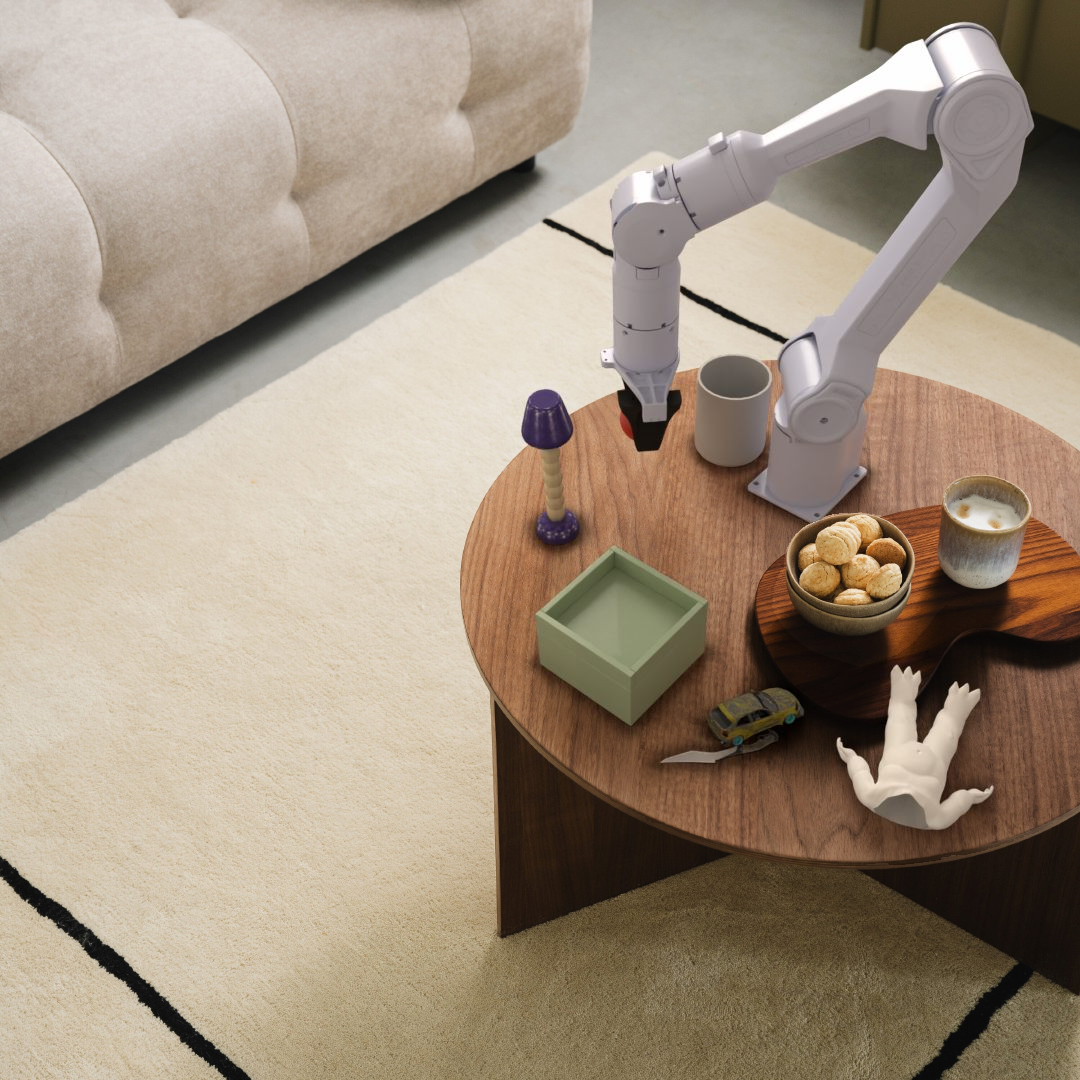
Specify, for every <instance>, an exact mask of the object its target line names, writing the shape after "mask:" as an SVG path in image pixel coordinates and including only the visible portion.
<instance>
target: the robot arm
mask: <svg viewBox="0 0 1080 1080" xmlns="http://www.w3.org/2000/svg"><path fill="white" fill-rule="evenodd" d="M1031 112H1032V111H1031V110H1030V106H1029V102H1028V98H1027V95H1026V93H1025V91H1024V89H1023V87H1022V86H1021V84H1020V82H1018V81H1017V80H1016V79H1015V77H1014V75H1013V73H1012V72H1011V70H1010V68H1009V66H1008V65H1007V63H1006V61H1005V59H1004V57H1003V55H1002V53H1001V51H1000V48H999V45H998V42H997V40H996V38H995V36H994V35H993V34H992V32H990V31H989V30H988V29H987V28H985V27H984V26H983V25H980V24H978V23H974V22H967V21H962V22H955V23H950V24H948V25H945V26H942V27H941V28H939V29H938V30H936V31H935V32H933V33H932V34H931V35H930V36H929V37H928V38H926V39H925V40H924V39H923V38H921V39H918V40H916V41H912V42H909V43H907V44H905V45H904V46H902V47H901V48H900V49H899V50H898V51H897V52H896V53H895V54H893V55H892V56H891V57H890V58H889V59H888V60H887V61H886V62H884V63H883V64H882V65H881V66H879V67H878V68H877V69H875V70H874V71H872V72H870V73H869V74H867V75H866V76H864V77H861V78H860V79H858V80H857V81H855V82H853V83H851V84H850V85H848V86H845V87H844V88H843V89H841V90H839V91H838V92H836V93H834V94H832V95H831V96H829V97H827V98H825V99H824V100H821V101H820V102H818V103H816V104H815V105H813V106H811V107H809V108H808V109H806V110H804V111H803V112H801V113H799V114H797V115H795V116H794V117H792V118H791V119H789V120H787V121H785V122H783V123H782V124H780V125H778V126H777V127H774V128H773V129H772V130H770V131H768V132H766V133H763V134H758V133H755V132H751V131H747V130H743V129H742V130H741V129H738V130H736V131H734V132H732V133H730V134H728V135H727V136H726V135H725V133H724V132H723V131H720V132H718V133H716V134H713V135H712V136H710V137H708V139H707V144H708V145H707V146H704V147H703V148H700V149H699V150H697V151H694V152H692V153H691V154H689V155H687V156H685V157H683V158H681V159H679V160H677V161H675V162H673V163H671V164H669V165H668V166H665V164H660V165H658V166H657V167H655V168H653V170H650V171H649V170H648V171H647V170H641V171H636V172H634V173H631V174H629V175H628V176H626V177H625V178H623V179H622V180H621V181H620V182H619V183H618V184H617V188H615V189H614V191H613V193H612V196H611V198H610V199H609V207H610V211H611V239H612V243H613V248H612V250H613V252H612V253H613V257H612V258H613V262H612V267H611V268H612V269H611V270H612V271H611V272H612V273H611V274H612V275H611V276H612V277H611V278H612V336H613V337H612V338H613V342H612V343H613V345H612V346H611V347H610V348H603V349H601V350H600V354H599V355H600V357H599V358H600V364H601V368H604V369H613V370H615V371H616V372H617V374H618V375H619V376H620V378H621V381H622V383H623V387H624V389H617V390H616V396H617V403H618V407H619V409H620V412H621V411H622V413H623V414H624V415H625V417H626V418H627V420H628V421H629V423H630V426H631V430H632V434H633V439H634V440H633V444H634V446H635V450H636V452H638V453H643V452H644V453H645V452H656V451H657V452H658V451H659V450H660V448H661V446H662V443H663V441H664V437H665V434H666V431H667V429H668V426H669V423H670V422H671V420H672V418H673V417H674V415H675V414H676V413H677V412H678V411H679V410H680V409H681V407H682V403H683V396H682V391H681V389H671V386H672V384H673V381H674V379H675V375H676V373H677V370H678V368H679V364H680V362H681V351H680V348H679V333H680V332H679V329H680V301H681V300H680V299H681V276H682V275H681V273H682V265H681V261H680V260H679V256H680V255H681V253H682V252H683V251H684V249H685V246H686V244H687V243H688V242H689V241H690V240H692V239H693V238H696V235H697V234H699V233H701V232H703V231H705V230H707V229H709V228H711V227H714V226H716V225H718V224H720V223H722V222H725V221H726V220H728V219H731V218H733V217H735V216H737V215H739V214H741V213H743V212H745V211H748V210H749V209H751V208H753V207H755V206H757V205H760V204H762V203H764V202H766V201H768V200H769V199H770V198H771V196H772V193H773V192H774V189H775V187H776V185H777V184H778V181H779V180H780V179H781V177H784V176H786V175H789V174H791V173H793V172H796V171H798V170H801V169H803V168H805V167H808V166H810V165H813V164H815V163H818V162H820V161H823V160H825V159H828V158H830V157H832V156H835V155H838V154H840V153H843V152H845V151H848V150H851V149H852V148H855V147H857V146H859V145H861V144H864V143H867V142H869V141H872V140H874V139H876V138H880V137H883V138H887V139H889V140H892V141H895V142H898V143H900V144H903V145H906V146H909V147H912V148H914V149H917V150H919V151H926V150H927V149H928V145H927V144H928V142H927V141H928V135H934V138H935V139H936V141H937V144H938V145H939V150H940V155H941V159H942V167H941V169H940V170H939V171H938V172H937V174H936V175H935V177H934V178H933V179H932V181H931V182H930V183H929V185H928V186H927V188H926V189H924V191H923V192H922V194H921V195H920V197H919V198H918V199H917V200H916V202H915V203H914V205H913V206H912V207H911V208H910V210H909V211H908V213H907V214H906V215H905V217H904V218H903V220H902V221H901V222H900V223H899V225H898V226H897V227H896V229H895V230H894V232H893V233H892V234H891V235H890V237H889V238H888V240H887V241H886V242H885V243H884V245H883V246H882V247H881V249H880V250H879V252H878V253H877V255H876V256H875V257H874V258H873V260H872V261H871V262H870V264H869V265H868V267H867V268H866V269H865V271H864V272H863V273H862V274H861V276H860V277H859V279H857V281H856V283H855V284H854V285H853V287H852V288H851V289H850V291H848V293H847V294H846V295H845V297H844V299H843V300H842V301H841V303H840V304H839V305H838V307H837V308H836V309H835V311H834V312H833V314H826V315H825V314H823V315H821V314H820V315H817V316H815V317H814V319H812V321H811V322H810V324H809V325H808V326H807V327H806V328H805V329H803V330H802V331H801V332H799V333H797V334H795V335H794V336H792V337H791V338H789V339H788V340H787V341H785V343H783V345H782V346H781V348H780V349H779V352H778V354H777V360H776V361H777V362H776V363H777V369H778V372H779V375H780V376H781V377H780V379H781V384H782V389H783V391H782V393H781V395H780V396H779V398H778V400H777V401H776V403H775V405H774V409H773V419H772V428H771V436H770V437H771V438H770V444H769V453H768V462H767V467H766V468H764V470H763V471H762V472H760V473H759V474H758V475H757V476H756V477H755V478H754V479H753V480H752V481H750V482H749V483H748V485H747V490H748V491H749V492H750V493H752V494H754V495H755V496H758V497H759V498H762V499H764V500H766V501H768V502H769V503H771V504H772V505H775V506H777V507H779V508H780V509H783V510H785V511H786V512H789V513H790V514H793V515H795V516H796V517H798V518H800V519H802V520H804V521H806V522H808V523H810V524H812V523H813V522H816V521H818V520H820V521H822V520H823V518H825V517H826V516H827V515H828V514H829V513H830V512H831V511H832V510H833V509H834V507H835V506H836V505H838V503H840V501H842V500H843V499H844V498H845V497H846V495H848V493H850V491H852V490H853V488H855V486H857V484H859V483H860V481H861V480H863V479H864V477H866V475H867V472H868V470H867V469H866V468H865V467H864V466H861V465H860V462H861V458H862V453H863V447H864V442H865V436H866V432H867V427H868V417H867V412H866V409H865V407H864V406H863V405H864V404H865V402H867V399H868V398H869V397H870V396H871V395H872V393H873V389H874V384H875V380H876V374H877V369H878V365H879V361H880V356H881V355H882V354H883V352H884V351H885V350H886V348H887V347H888V346H889V345H890V344H891V342H892V341H893V340H894V338H895V337H896V336H897V335H898V333H899V332H900V331H901V330H902V329H903V328H904V326H905V325H906V324H907V322H908V321H909V320H910V319H911V317H913V315H914V314H915V313H916V311H917V310H918V309H919V308H920V306H921V305H922V304H923V303H924V301H925V300H926V299H927V298H928V297H929V296H930V294H931V293H932V291H933V290H934V289H935V288H936V286H937V285H938V284H939V283H940V282H941V280H942V279H943V278H944V277H945V275H946V274H947V272H949V271H950V269H951V268H952V267H953V266H954V265H955V263H956V262H957V261H958V259H959V258H960V257H961V255H962V254H963V253H964V252H965V250H967V248H968V247H969V246H970V245H971V243H972V242H973V241H974V239H975V238H976V237H977V236H978V234H979V233H980V232H981V231H982V229H984V227H985V226H986V225H987V223H988V222H989V221H990V220H991V218H992V217H993V216H994V215H995V213H996V212H997V211H998V210H999V208H1000V207H1001V206H1002V205H1003V204H1004V203H1005V201H1006V200H1007V199H1008V197H1009V196H1010V195H1011V193H1012V192H1013V190H1014V189H1015V187H1016V185H1017V183H1018V180H1019V174H1020V169H1021V163H1022V159H1023V154H1024V147H1025V143H1026V138H1027V137H1028V136H1029V135H1030V133H1031V132H1032V131H1033V130H1034V128H1035V123H1034V120H1033V115H1032V113H1031ZM666 428H667V429H666Z"/></svg>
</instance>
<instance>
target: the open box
mask: <svg viewBox="0 0 1080 1080" xmlns="http://www.w3.org/2000/svg"><path fill="white" fill-rule="evenodd" d="M708 609H709V600H708V599H705V598H704V597H702V596H701V595H700V594H698V593H696V592H694V591H692V590H691V589H689V588H688V587H686V586H684V585H683V584H680V583H679V582H678V581H675V580H674V579H673V578H671V577H669V576H667V575H665V574H664V573H662V572H660V571H658V570H657V569H655V568H654V567H652V566H651V565H648V564H646V563H645V562H643V561H641V560H640V559H639V558H637V557H635V556H633V555H631V554H630V553H628V552H626V551H625V550H623V549H622V548H620V547H618V546H617V545H615V544H613V545H612V546H610V547H609V548H608V549H607V550H606V551H605V552H604V553H603V554H601V555H600V556H599V557H598V558H597V559H596V560H594V562H592V563H591V564H590V565H589V566H588V567H586V569H584V570H583V571H582V572H581V573H580V574H579V575H578V576H576V577H575V578H574V579H573V580H572V581H571V582H570V583H569V584H567V585H566V586H565V587H564V588H563V589H562V590H560V592H558V593H557V594H556V595H555V596H554V597H553V598H551V600H549V601H548V602H547V603H546V604H545V605H544V606H543V607H542V608H540V609H539V610H538V611H537V612H536V613H535V614H534V615H535V625H536V626H535V627H536V633H537V635H536V636H537V646H538V656H539V664H540V665H541V666H542V667H544V668H546V669H547V670H548V671H550V672H552V673H553V674H554V675H556V676H557V677H558V678H560V679H562V680H563V681H564V682H566V683H567V684H569V685H570V686H572V687H573V688H574V689H576V690H577V691H579V692H580V693H581V694H583V695H585V696H586V697H587V698H589V699H590V700H592V701H593V702H595V703H596V704H597V705H599V706H601V707H602V708H604V709H605V710H607V712H609V713H611V714H612V715H613V716H615V717H617V718H618V719H619V720H621V721H622V722H624V723H625V724H626V725H628V726H629V727H632V726H633V724H634V723H636V722H637V721H638V720H639V719H640V718H641V717H642V716H643V714H644V713H646V712H647V710H648V709H650V708H651V706H653V704H654V703H656V701H657V700H658V699H660V698H661V696H663V694H664V693H666V691H668V689H669V688H670V687H671V686H672V685H674V683H675V682H676V681H677V680H678V679H680V677H681V676H682V675H683V674H684V673H685V672H686V671H687V670H688V669H690V667H691V666H692V665H693V664H694V663H695V661H697V660H698V659H699V658H700V657H701V656H702V655H703V654H704V653H705V651H706V650H705V649H706V637H707V636H706V635H707V634H706V633H707V622H708Z"/></svg>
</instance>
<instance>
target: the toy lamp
mask: <svg viewBox="0 0 1080 1080" xmlns="http://www.w3.org/2000/svg"><path fill="white" fill-rule="evenodd" d="M522 417H523V418H522V422H521V426H520V427H521V429H520V432H521V437H522V439H523V441H524V443H526V445H528V446H529V447H531V448H534V449H537V450H540V451H539V452H540V453H539V454H540V457H541V459H542V461H541V468H542V471H543V473H542V480H543V483H544V485H543V490H544V493H545V504H546V510H545V511H543V512H542V514H541V515H540V516H539V518H538V519H537V521H536V524H535V525H536V526H535V532H536V534H537V537H538V538H539V539H540V540H541V541H542V542H543V543H546V544H549V545H553V546H561V545H565V544H568V543H570V542H572V541H573V540H575V539H576V538H577V536H578V535H579V534H580V529H581V526H580V522H579V519H578V518H577V516H576V515H575V513H574V512H572V511H571V510H569V509H567V508H566V506H565V495H564V484H563V472H562V460H561V447H563V446H564V445H566V444H568V442H570V440H571V439H572V437H573V435H574V424H573V421H572V418H571V416H570V414H569V411H568V409H567V406H566V405H565V403H564V400H563V398H562V396H561V395H560V394H559V393H558V392H557V391H555V390H553V389H550V388H543V389H538V390H535V391H534V392H532V393H531V394H530V395H529V396H528V398H527V400H526V404H525V409H524V412H523V416H522Z"/></svg>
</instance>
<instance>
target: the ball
mask: <svg viewBox="0 0 1080 1080" xmlns="http://www.w3.org/2000/svg"><path fill="white" fill-rule="evenodd" d="M619 424H620V427H621V429H622V431H623V433H624V434H625V436H627V437H628V438H629V439H630V440H632V441H634V439H633V434H632V430H631V426H630V423H629V421H628V420H627V418H626V417H625V415H624V414H623V413H622V411H621V410H620V413H619ZM667 429H668V427H667V428H666V430H667Z"/></svg>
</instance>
